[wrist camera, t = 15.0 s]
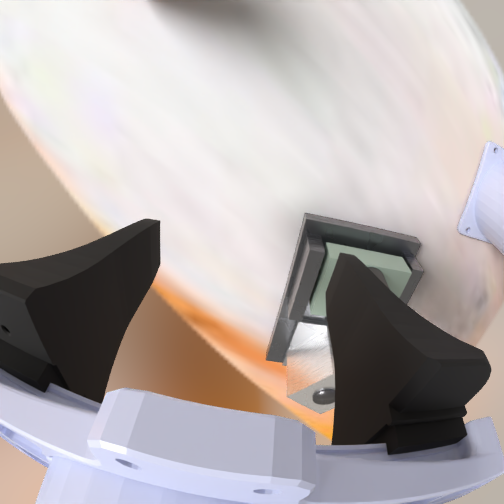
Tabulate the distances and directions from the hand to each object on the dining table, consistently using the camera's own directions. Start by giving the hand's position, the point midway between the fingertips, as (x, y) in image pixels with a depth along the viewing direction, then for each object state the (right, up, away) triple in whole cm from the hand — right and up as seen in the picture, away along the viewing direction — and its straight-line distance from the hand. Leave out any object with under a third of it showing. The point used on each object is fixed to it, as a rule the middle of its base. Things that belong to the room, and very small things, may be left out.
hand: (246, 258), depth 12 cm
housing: (+7, -9, +14) cm, 18 cm away
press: (+7, -4, +13) cm, 15 cm away
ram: (+8, -2, +9) cm, 12 cm away
